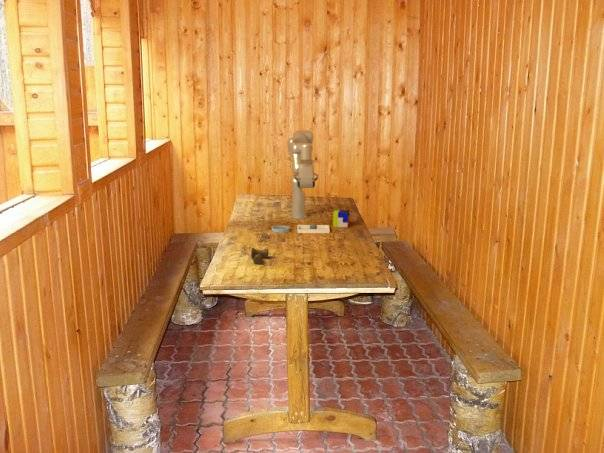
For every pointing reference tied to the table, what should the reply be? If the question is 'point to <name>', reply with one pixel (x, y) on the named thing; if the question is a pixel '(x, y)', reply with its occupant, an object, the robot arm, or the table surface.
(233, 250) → the table surface
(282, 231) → the bowl
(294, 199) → the robot arm
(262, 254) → the kendama
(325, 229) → the white rectangular frame
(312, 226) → the ball
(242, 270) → the table surface
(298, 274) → the table surface
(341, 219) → the puzzle toy
